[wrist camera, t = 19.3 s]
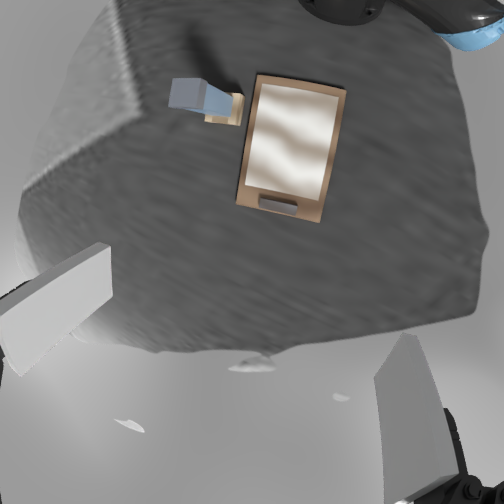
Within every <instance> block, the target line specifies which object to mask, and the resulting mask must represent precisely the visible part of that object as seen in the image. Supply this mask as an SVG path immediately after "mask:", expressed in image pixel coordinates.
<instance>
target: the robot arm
mask: <svg viewBox="0 0 504 504" xmlns="http://www.w3.org/2000/svg"><path fill="white" fill-rule="evenodd" d="M391 1H392V2H394V3H396V4H397V5H399V6H400V7H402V8H403V9H405V10H406V11H408V12H409V13H411V14H412V15H414V16H415V17H416V18H418V19H419V20H420V21H422V22H423V23H424V24H426V25H427V26H428V27H430V28H431V30H432V31H433V32H434V33H435V34H437V35H439V36H441V37H442V38H443V39H445V40H446V41H447V42H448V43H450V44H451V45H452V46H453V47H455V48H457V49H460V50H462V51H475V50H478V49H481V48H483V47H486V46H488V45H489V44H491V43H493V42H495V41H496V40H497V39H499V38H500V35H501V34H503V33H504V0H391ZM299 2H300V3H301V5H302V6H303V7H304V8H305V9H306V10H307V11H308V12H310V13H311V14H313V15H314V16H316V17H318V18H320V19H322V20H324V21H327V22H330V23H334V24H339V25H348V26H353V25H361V24H365V23H368V22H371V21H372V20H374V19H375V18H377V17H378V15H379V14H380V13H381V11H382V8H383V6H384V3H385V0H299ZM112 296H113V293H112V277H111V246H109V245H106V244H103V243H101V242H98V243H96V244H94V245H92V246H90V247H88V248H86V249H84V250H83V251H81V252H79V253H77V254H75V255H73V256H72V257H70V258H68V259H66V260H65V261H63V262H61V263H59V264H58V265H56V266H54V267H52V268H51V269H49V270H47V271H46V272H44V273H42V274H41V275H39V276H37V277H36V278H34V279H32V280H29V281H26V282H24V283H22V284H20V285H19V286H18V287H16V289H13V290H11V291H10V292H9V293H7V294H5V295H3V296H2V297H0V386H1V379H2V372H3V361H2V359H3V358H4V357H6V359H7V361H8V363H9V365H10V367H11V368H12V369H13V370H14V371H15V372H16V373H17V374H18V375H19V376H20V377H21V376H23V375H24V374H25V373H26V372H27V371H28V370H29V369H30V368H31V367H32V366H33V365H34V364H36V363H37V362H38V361H39V360H40V359H41V358H42V357H43V356H44V355H45V354H46V353H47V352H49V351H50V350H51V349H52V348H53V347H54V346H55V345H56V344H57V343H59V342H60V341H61V340H62V339H63V338H64V337H65V336H66V335H67V334H69V333H70V332H71V331H72V330H73V329H74V328H76V327H77V326H78V325H79V324H80V323H81V322H83V321H84V320H85V319H86V318H87V317H88V316H90V315H91V314H92V313H93V312H94V311H96V310H97V309H98V308H99V307H100V306H101V305H103V304H104V303H105V302H106V301H108V300H109V299H110V298H111V297H112ZM374 381H375V389H376V396H377V404H378V412H379V420H380V430H381V440H382V455H383V473H384V504H409V503H411V502H413V501H414V504H504V481H503V482H501V483H500V484H498V485H497V486H495V487H494V488H491V487H484V486H482V484H481V481H480V480H479V479H478V478H477V477H476V476H473V475H468V472H467V467H466V462H465V458H464V454H463V449H462V445H461V442H460V441H459V439H460V438H459V434H458V432H457V427H456V423H455V420H454V418H453V416H452V415H451V413H450V412H449V410H448V409H447V408H443V407H442V403H441V400H440V397H439V394H438V391H437V388H436V385H435V382H434V379H433V376H432V374H431V371H430V368H429V366H428V363H427V360H426V358H425V355H424V352H423V350H422V347H421V345H420V342H419V340H418V338H417V336H415V335H411V334H406V333H402V334H401V336H400V338H399V340H398V341H397V343H396V345H395V346H394V348H393V350H392V351H391V353H390V354H389V356H388V357H387V359H386V361H385V362H384V363H383V365H382V366H381V368H380V369H379V371H378V372H377V374H376V375H375V377H374ZM0 504H2V501H1V495H0Z"/></svg>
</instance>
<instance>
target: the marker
mask: <svg viewBox="0 0 504 504" xmlns="http://www.w3.org/2000/svg"><path fill="white" fill-rule="evenodd" d="M232 104H233V97H232V96H230V95H228V94H226V93H224V92H223V91H221V90H219V89H217V88H215V87H213V86H211V85H210V84H208V82H207V81H206V80H204V79H202V78H173V81H172V87H171V93H170V99H169V105H168V107H171V108H176V109H187V110H191V111H195V112H199V113H203V114H207V115H211V116H223V117H231V110H232Z"/></svg>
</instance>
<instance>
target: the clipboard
mask: <svg viewBox="0 0 504 504" xmlns="http://www.w3.org/2000/svg"><path fill="white" fill-rule="evenodd" d="M345 96H346V90H343V89H338V88H334V87H330V86H325V85H320V84H316V83H310V82H305V81H299V80H293V79H287V78H280V77H272V76H264V75H257V81H256V86H255V92H254V97H253V103H252V108H251V114H250V120H249V126H248V132H247V138H246V144H245V150H244V156H243V162H242V168H241V174H240V181H239V187H238V193H237V200H236V204H238V205H243V206H248V207H252V208H257V209H261V210H266V211H271V212H275V213H279V214H284V215H288V216H292V217H297V218H301V219H305V220H309V221H313V222H318V223H319V222H320V218H321V214H322V210H323V206H324V202H325V197H326V193H327V189H328V184H329V180H330V175H331V170H332V166H333V161H334V156H335V151H336V146H337V141H338V136H339V130H340V125H341V120H342V114H343V108H344V102H345Z"/></svg>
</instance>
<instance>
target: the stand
mask: <svg viewBox="0 0 504 504" xmlns="http://www.w3.org/2000/svg"><path fill="white" fill-rule="evenodd" d="M224 93H226V94H228V95H230V96H232V97H233V104H232V110H231V117H223V116H211V115H207V114H206V115H205V121H207V122H212V123H222V124H231V125H239V126H240V124H241V118H242V112H243V107H244V101H245V96H243V95H242V94H240V93H228V92H224Z"/></svg>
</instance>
